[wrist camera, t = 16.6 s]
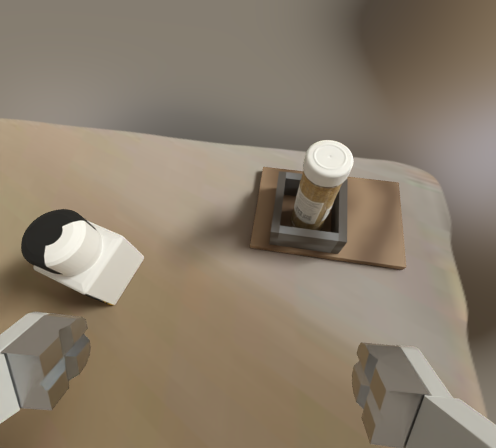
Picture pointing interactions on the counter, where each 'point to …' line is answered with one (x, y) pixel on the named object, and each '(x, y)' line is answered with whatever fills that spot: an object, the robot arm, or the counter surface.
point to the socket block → (332, 221)
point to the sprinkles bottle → (320, 183)
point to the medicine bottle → (81, 255)
